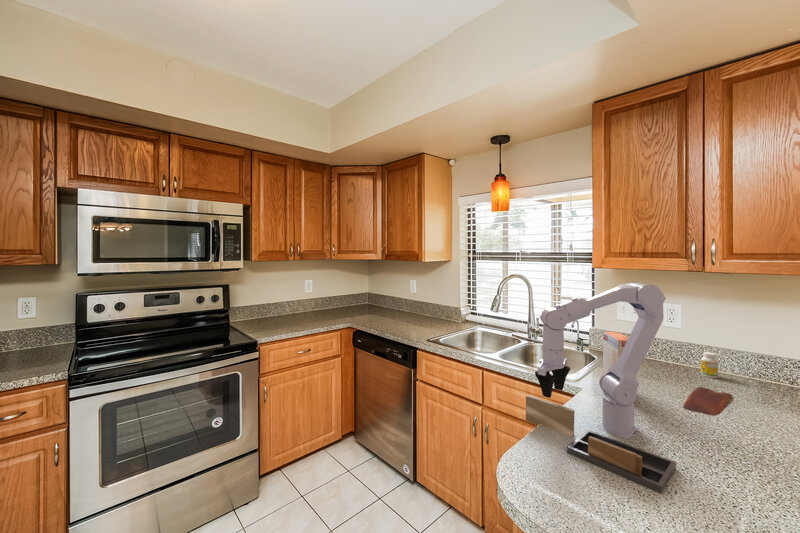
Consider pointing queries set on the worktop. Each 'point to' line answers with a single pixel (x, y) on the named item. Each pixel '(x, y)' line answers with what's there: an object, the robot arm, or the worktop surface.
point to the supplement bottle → (709, 365)
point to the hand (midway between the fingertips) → (552, 393)
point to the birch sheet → (550, 415)
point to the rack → (653, 469)
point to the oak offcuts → (615, 455)
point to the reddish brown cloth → (706, 401)
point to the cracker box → (612, 348)
